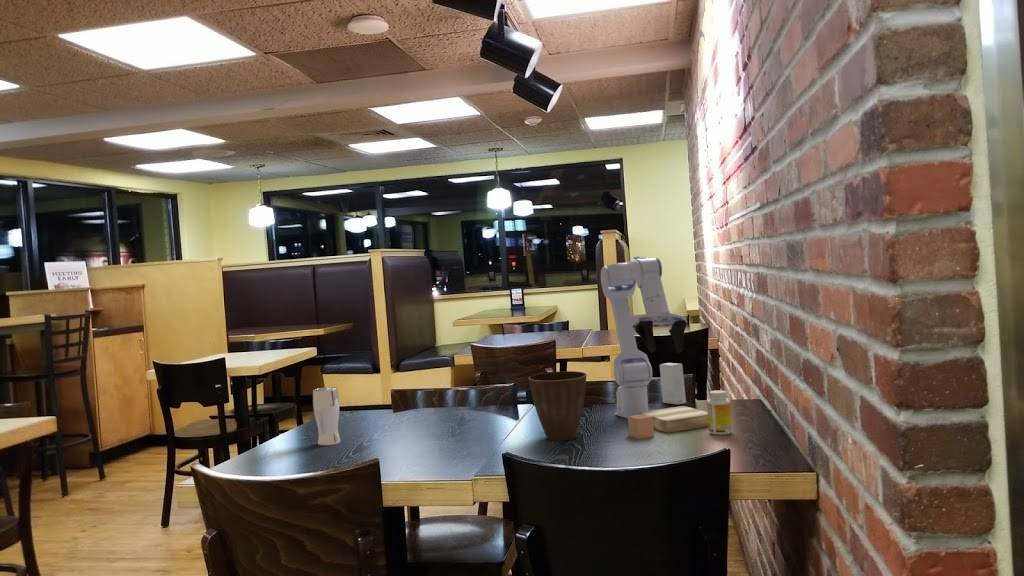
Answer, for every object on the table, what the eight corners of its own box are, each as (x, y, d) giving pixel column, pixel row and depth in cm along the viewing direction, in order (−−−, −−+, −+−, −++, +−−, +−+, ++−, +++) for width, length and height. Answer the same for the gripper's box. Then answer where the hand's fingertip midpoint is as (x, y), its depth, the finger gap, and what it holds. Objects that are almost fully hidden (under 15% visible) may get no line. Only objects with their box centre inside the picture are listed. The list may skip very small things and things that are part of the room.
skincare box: (686, 403, 217) (684, 363, 217) (676, 405, 215) (673, 365, 214) (672, 400, 222) (669, 362, 222) (661, 403, 220) (659, 363, 220)
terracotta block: (629, 436, 179) (627, 416, 179) (644, 433, 181) (643, 413, 181) (638, 439, 175) (636, 419, 175) (654, 436, 177) (652, 416, 177)
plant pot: (601, 438, 178) (596, 375, 178) (546, 447, 173) (541, 382, 173) (575, 428, 192) (571, 369, 192) (524, 436, 187) (519, 375, 187)
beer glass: (319, 447, 191) (315, 392, 191) (313, 443, 198) (309, 389, 197) (345, 443, 195) (340, 388, 194) (338, 438, 201) (334, 385, 201)
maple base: (639, 423, 193) (638, 412, 193) (683, 416, 197) (683, 405, 197) (667, 432, 180) (667, 420, 179) (714, 425, 184) (713, 413, 184)
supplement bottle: (736, 432, 175) (734, 390, 175) (723, 436, 171) (720, 394, 171) (717, 429, 179) (714, 389, 179) (704, 433, 176) (701, 392, 176)
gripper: (636, 293, 174) (648, 344, 168) (687, 294, 179) (700, 344, 173) (623, 306, 180) (634, 356, 174) (673, 307, 185) (686, 355, 179)
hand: (666, 351), depth 174 cm, fingers open, 7 cm apart
